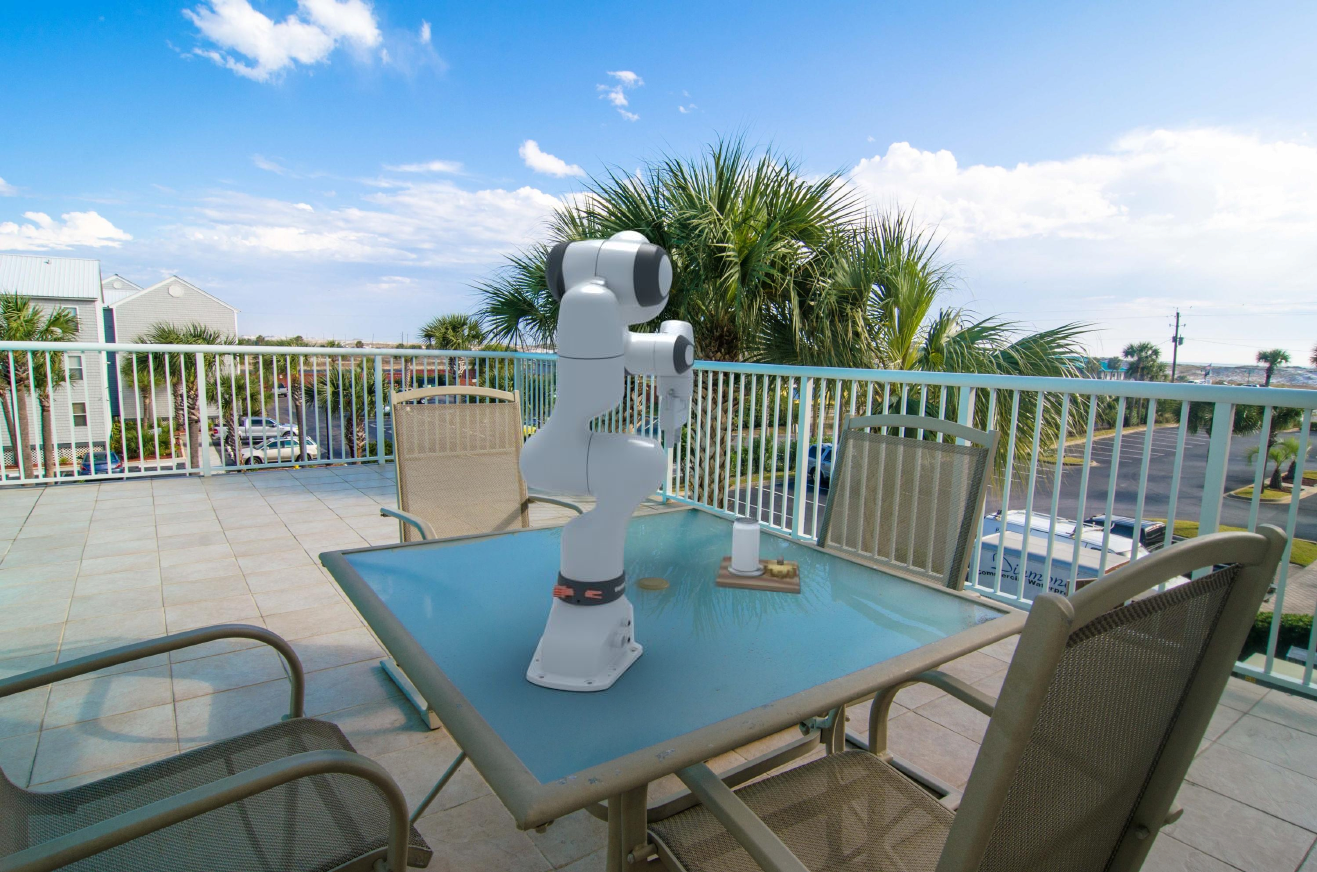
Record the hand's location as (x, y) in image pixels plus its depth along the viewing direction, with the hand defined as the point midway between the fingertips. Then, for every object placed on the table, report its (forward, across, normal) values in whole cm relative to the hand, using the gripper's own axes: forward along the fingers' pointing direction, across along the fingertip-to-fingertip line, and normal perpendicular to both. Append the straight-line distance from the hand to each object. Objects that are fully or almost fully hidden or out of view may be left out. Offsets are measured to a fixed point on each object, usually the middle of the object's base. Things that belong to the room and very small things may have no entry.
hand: (673, 445), depth 158 cm
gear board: (+31, 0, -22) cm, 38 cm away
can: (+29, -1, -19) cm, 35 cm away
